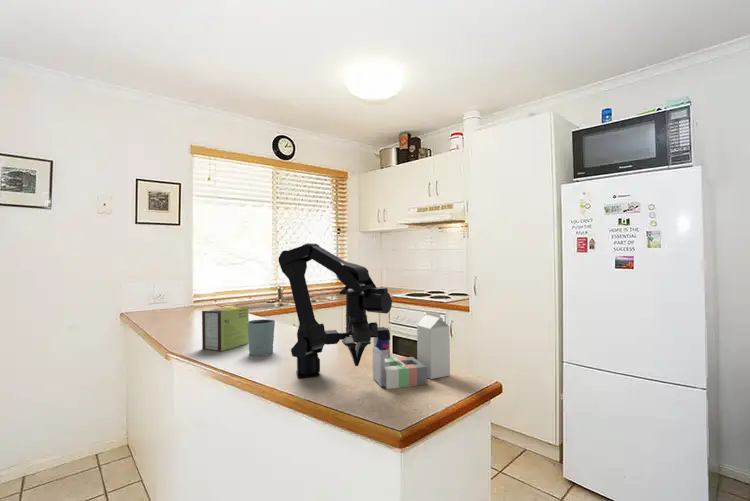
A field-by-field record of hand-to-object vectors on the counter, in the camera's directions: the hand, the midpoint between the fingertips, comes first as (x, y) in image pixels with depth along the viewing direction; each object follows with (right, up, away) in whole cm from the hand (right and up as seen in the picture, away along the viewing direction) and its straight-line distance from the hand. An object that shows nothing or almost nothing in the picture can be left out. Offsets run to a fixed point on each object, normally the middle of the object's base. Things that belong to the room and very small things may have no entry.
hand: (356, 365), depth 110 cm
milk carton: (+23, -6, +9) cm, 25 cm away
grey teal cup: (-38, -6, +37) cm, 53 cm away
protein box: (-56, -7, +49) cm, 74 cm away
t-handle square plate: (+10, -5, +3) cm, 12 cm away
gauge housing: (+13, -5, +4) cm, 14 cm away
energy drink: (+8, -6, +20) cm, 22 cm away
